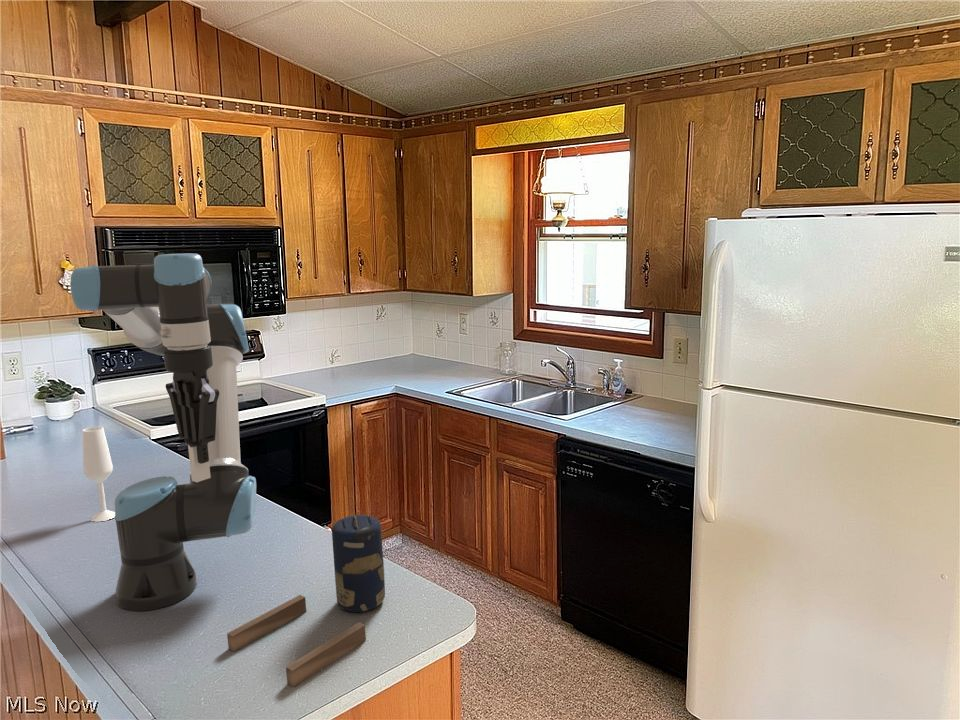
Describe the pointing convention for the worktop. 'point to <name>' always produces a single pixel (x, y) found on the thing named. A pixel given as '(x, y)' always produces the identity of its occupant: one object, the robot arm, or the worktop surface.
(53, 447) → the worktop surface
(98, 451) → the champagne flute
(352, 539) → the canister
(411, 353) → the worktop surface
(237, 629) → the walnut chute
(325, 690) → the worktop surface
